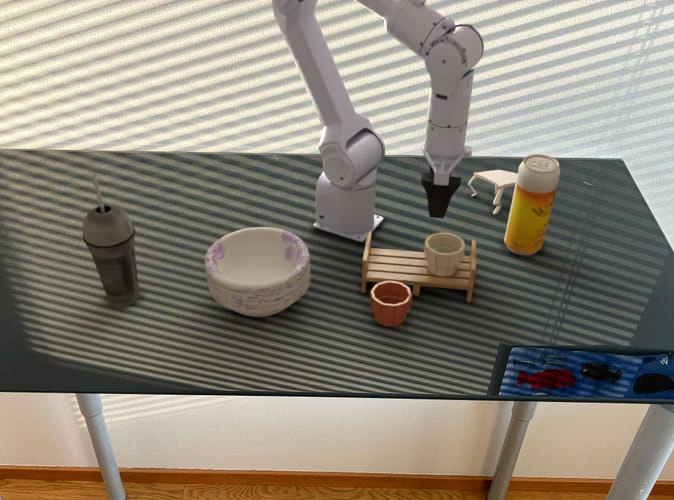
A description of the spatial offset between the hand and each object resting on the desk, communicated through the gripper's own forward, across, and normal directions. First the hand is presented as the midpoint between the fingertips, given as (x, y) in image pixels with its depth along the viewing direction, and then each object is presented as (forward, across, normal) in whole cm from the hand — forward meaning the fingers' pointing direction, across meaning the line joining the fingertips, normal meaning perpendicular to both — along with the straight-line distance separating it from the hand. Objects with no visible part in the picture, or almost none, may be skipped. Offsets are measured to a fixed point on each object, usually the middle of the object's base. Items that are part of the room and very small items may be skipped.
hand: (437, 203), depth 116 cm
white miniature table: (+10, +17, -12) cm, 23 cm away
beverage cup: (+10, -18, +45) cm, 50 cm away
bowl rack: (+9, -8, +2) cm, 12 cm away
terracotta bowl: (+9, -17, +5) cm, 20 cm away
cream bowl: (+6, -8, -2) cm, 10 cm away
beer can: (+10, +4, -14) cm, 18 cm away
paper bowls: (+10, -15, +25) cm, 31 cm away
